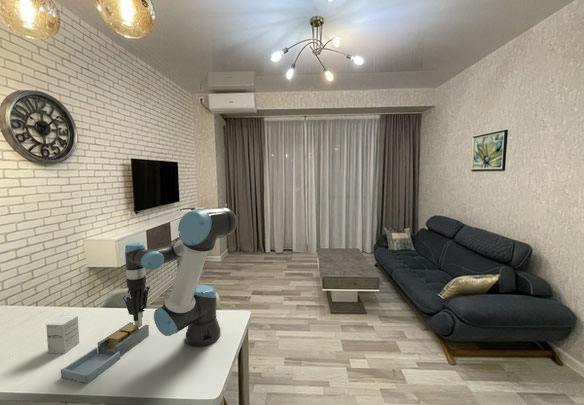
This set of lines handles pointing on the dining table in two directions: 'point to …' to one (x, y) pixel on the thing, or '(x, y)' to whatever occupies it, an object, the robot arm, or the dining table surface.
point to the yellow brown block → (117, 338)
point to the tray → (89, 366)
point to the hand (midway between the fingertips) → (138, 326)
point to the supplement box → (62, 334)
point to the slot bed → (123, 342)
